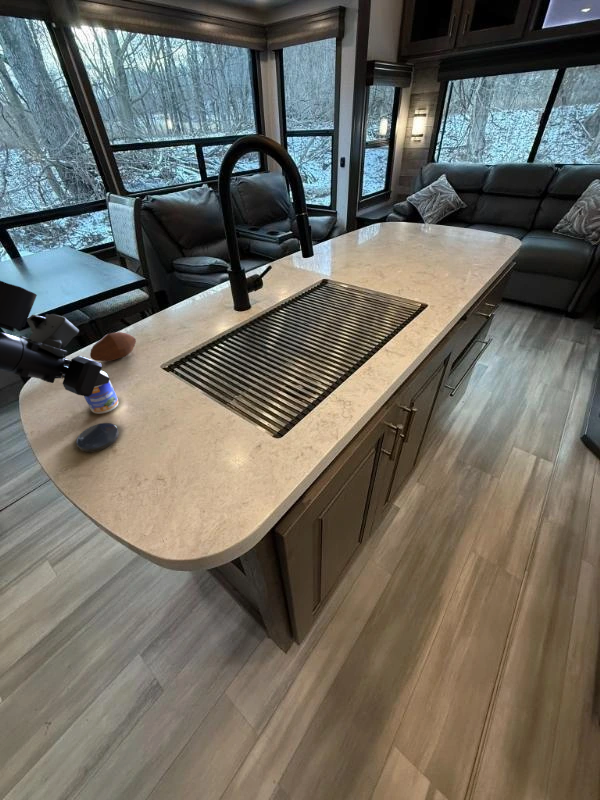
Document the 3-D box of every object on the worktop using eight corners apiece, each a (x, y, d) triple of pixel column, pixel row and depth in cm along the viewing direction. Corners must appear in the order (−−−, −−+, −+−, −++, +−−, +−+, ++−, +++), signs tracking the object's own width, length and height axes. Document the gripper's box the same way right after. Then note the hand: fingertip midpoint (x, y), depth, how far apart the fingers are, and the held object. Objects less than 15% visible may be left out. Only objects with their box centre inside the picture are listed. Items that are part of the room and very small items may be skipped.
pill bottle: (96, 417, 67) (76, 378, 61) (87, 406, 70) (66, 367, 64) (123, 405, 70) (106, 366, 64) (113, 395, 73) (96, 356, 67)
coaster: (98, 456, 59) (97, 453, 58) (69, 446, 61) (67, 443, 60) (127, 430, 64) (125, 427, 64) (98, 422, 66) (97, 419, 65)
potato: (89, 362, 84) (78, 339, 80) (131, 344, 91) (123, 323, 87) (100, 370, 81) (90, 347, 77) (143, 351, 88) (135, 329, 84)
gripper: (66, 317, 50) (146, 350, 64) (-3, 297, 56) (83, 330, 71) (38, 387, 49) (125, 404, 63) (-27, 358, 56) (65, 379, 70)
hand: (99, 377), depth 67 cm, fingers closed on pill bottle, 5 cm apart
